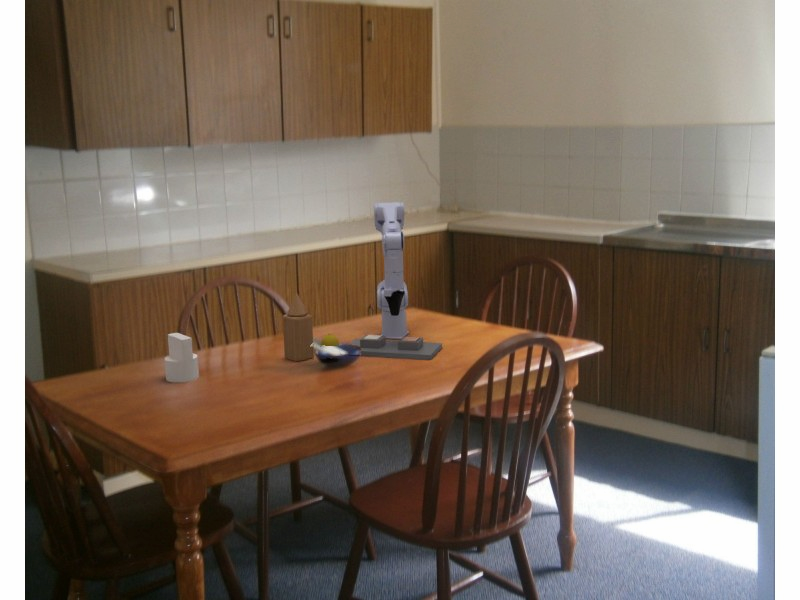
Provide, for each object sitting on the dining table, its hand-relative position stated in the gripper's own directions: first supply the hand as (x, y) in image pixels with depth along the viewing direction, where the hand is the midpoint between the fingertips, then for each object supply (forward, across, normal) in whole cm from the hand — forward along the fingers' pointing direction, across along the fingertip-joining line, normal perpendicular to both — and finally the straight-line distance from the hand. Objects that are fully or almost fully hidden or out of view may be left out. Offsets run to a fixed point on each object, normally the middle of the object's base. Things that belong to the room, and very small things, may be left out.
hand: (394, 315), depth 278 cm
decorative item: (+11, +17, -25) cm, 32 cm away
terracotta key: (+8, +4, +6) cm, 11 cm away
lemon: (+11, +17, -15) cm, 25 cm away
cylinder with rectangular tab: (+11, +42, -50) cm, 66 cm away
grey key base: (+10, +4, 0) cm, 11 cm away
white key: (+8, +4, -6) cm, 11 cm away
